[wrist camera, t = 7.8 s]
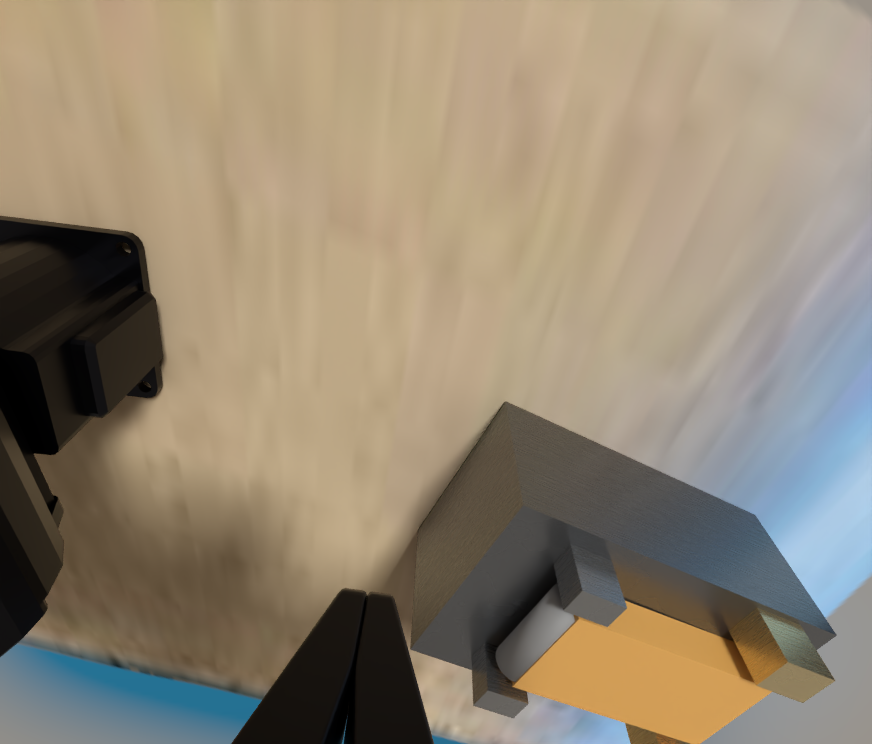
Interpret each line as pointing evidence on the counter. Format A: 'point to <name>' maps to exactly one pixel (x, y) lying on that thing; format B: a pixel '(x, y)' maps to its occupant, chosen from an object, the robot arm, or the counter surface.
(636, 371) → the counter surface
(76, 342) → the robot arm
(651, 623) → the tan rectangular box
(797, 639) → the grey block with pegs
